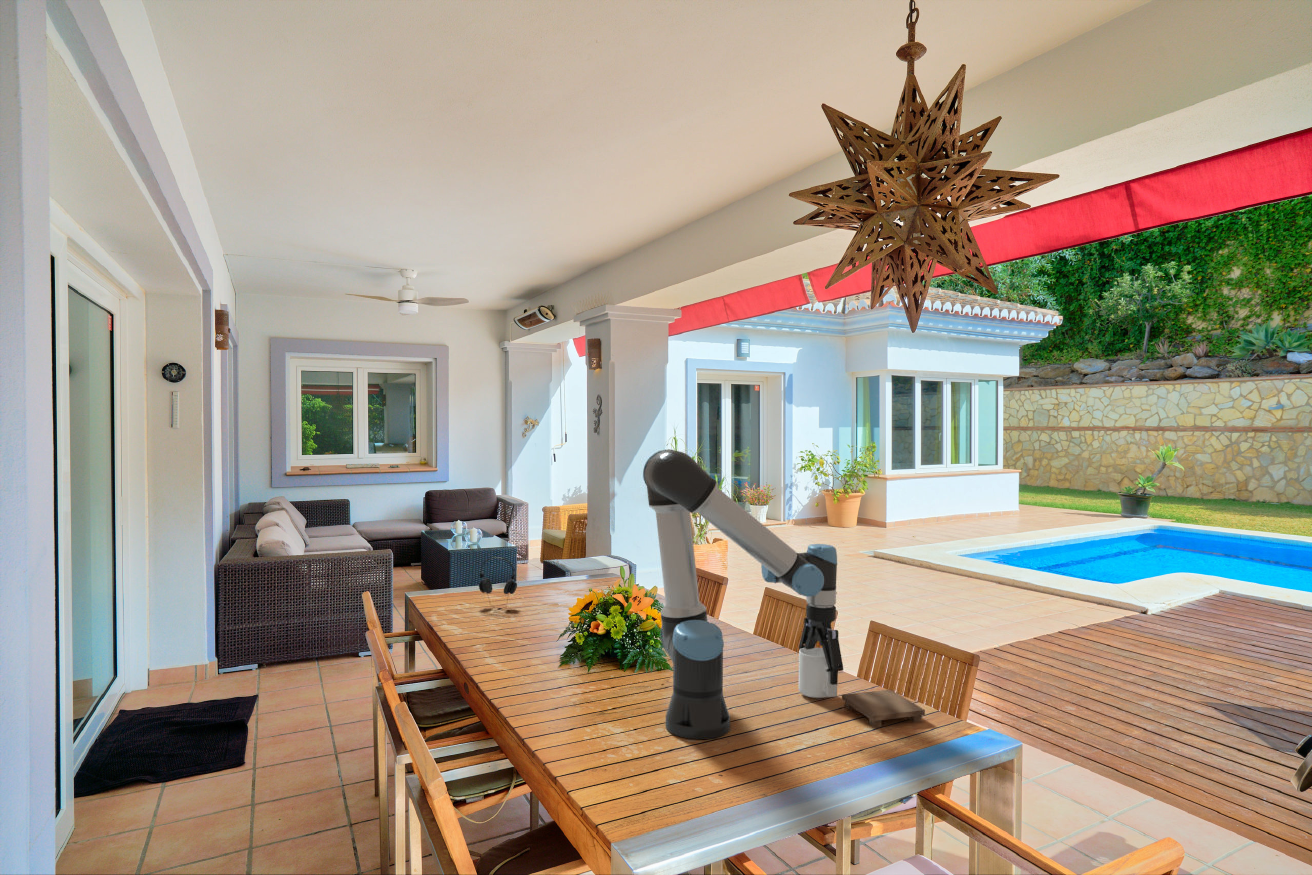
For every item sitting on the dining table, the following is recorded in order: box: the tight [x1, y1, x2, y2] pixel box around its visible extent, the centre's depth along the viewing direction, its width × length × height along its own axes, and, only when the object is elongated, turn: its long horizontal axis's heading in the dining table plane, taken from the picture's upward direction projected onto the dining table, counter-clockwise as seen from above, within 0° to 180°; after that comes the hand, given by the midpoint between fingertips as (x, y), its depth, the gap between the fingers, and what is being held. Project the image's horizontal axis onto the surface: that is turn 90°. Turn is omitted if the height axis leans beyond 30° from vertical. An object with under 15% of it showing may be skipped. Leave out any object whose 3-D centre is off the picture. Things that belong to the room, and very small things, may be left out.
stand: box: [841, 689, 926, 729], centre depth 175 cm, size 14×14×3 cm
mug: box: [798, 646, 828, 699], centre depth 186 cm, size 9×12×11 cm
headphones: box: [478, 556, 518, 614], centre depth 277 cm, size 15×11×20 cm
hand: (819, 687), depth 186 cm, fingers closed on mug, 12 cm apart
